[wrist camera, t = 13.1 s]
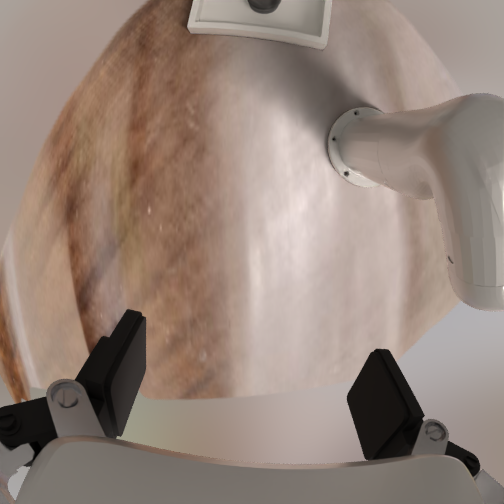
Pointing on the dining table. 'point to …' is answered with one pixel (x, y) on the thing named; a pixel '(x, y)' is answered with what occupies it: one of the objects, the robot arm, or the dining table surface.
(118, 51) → the dining table surface
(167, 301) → the dining table surface
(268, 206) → the dining table surface
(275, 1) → the beverage cup
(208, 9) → the tray
